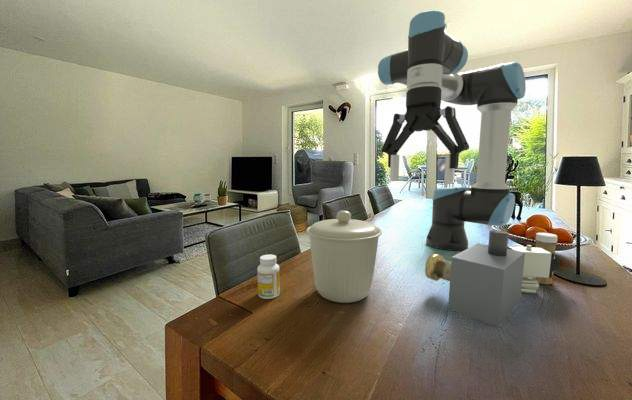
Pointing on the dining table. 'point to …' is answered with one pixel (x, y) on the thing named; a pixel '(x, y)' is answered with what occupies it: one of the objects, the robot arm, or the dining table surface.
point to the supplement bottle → (268, 277)
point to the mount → (486, 283)
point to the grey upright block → (498, 243)
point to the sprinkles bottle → (549, 244)
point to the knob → (437, 267)
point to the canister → (343, 257)
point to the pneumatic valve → (536, 266)
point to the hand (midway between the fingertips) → (419, 182)
